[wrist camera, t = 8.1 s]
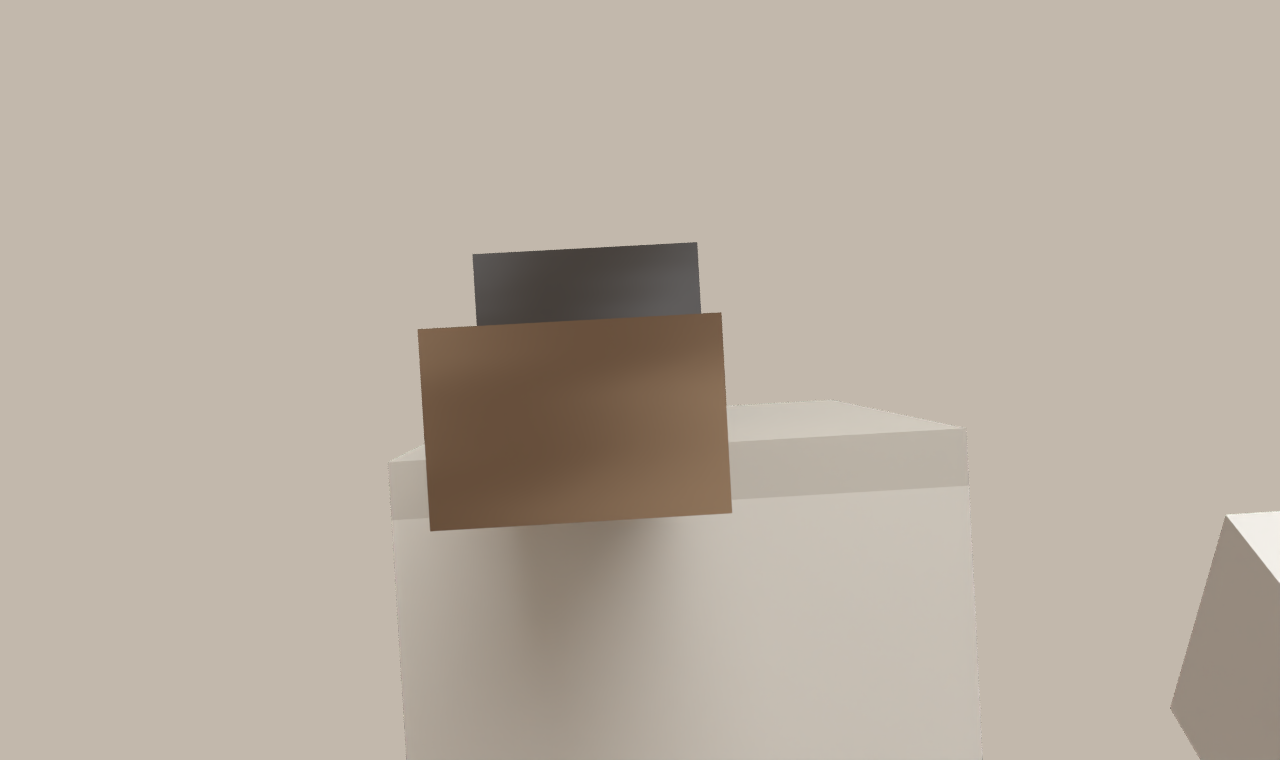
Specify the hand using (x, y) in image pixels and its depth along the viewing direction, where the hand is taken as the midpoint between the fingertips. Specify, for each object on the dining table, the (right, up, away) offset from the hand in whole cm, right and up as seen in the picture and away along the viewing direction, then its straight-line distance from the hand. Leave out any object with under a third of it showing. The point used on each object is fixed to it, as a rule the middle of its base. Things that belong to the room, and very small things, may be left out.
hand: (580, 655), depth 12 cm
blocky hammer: (0, +2, +10) cm, 10 cm away
